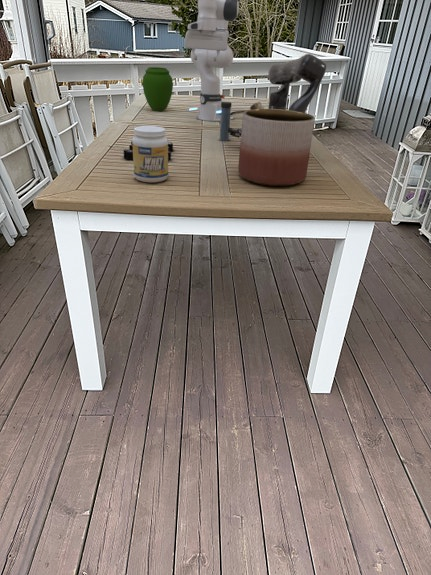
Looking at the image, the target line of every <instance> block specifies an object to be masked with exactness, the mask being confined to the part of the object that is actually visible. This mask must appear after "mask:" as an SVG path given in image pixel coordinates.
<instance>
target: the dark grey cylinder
mask: <svg viewBox="0 0 431 575" xmlns="http://www.w3.org/2000/svg"><path fill="white" fill-rule="evenodd" d="M231 110H232V107H231V108H221V121H220V129H219V130H220V132H219V141H221V142H229V141H230V133H228V128H231V119H230V116H231V115H230V114H231V113H232V111H231Z"/></svg>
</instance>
